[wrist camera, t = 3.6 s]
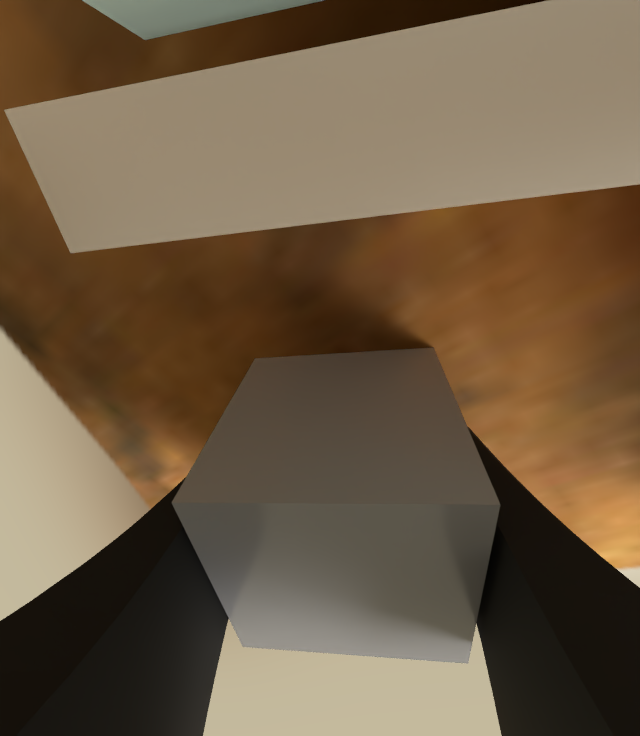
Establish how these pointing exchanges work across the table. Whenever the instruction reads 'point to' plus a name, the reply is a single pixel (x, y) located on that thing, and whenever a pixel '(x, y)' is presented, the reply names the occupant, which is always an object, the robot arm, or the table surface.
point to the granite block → (344, 508)
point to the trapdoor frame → (349, 129)
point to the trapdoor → (184, 13)
